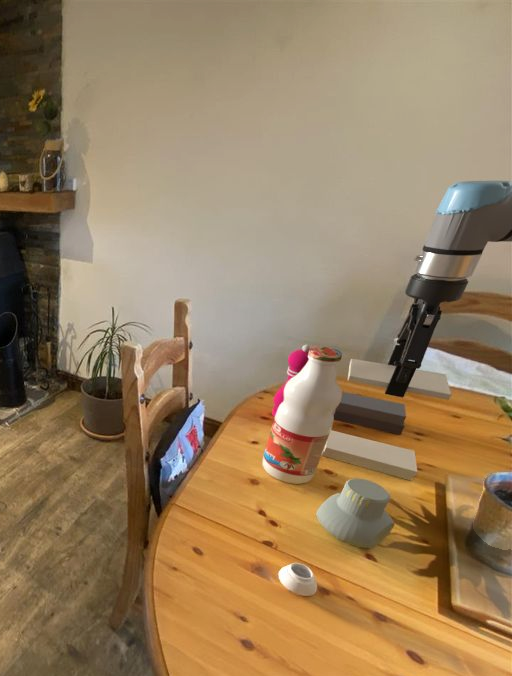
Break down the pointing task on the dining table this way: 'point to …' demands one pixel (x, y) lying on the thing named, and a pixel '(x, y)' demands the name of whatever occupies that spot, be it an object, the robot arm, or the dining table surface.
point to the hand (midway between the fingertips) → (393, 384)
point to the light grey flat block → (371, 455)
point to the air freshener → (357, 514)
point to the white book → (382, 374)
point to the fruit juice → (304, 419)
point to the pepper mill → (292, 372)
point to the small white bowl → (298, 579)
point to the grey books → (371, 413)
